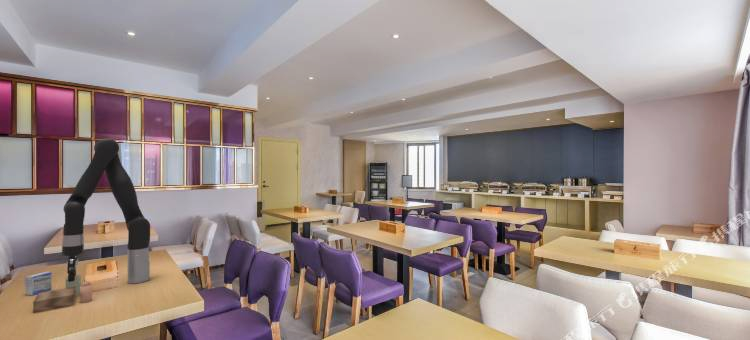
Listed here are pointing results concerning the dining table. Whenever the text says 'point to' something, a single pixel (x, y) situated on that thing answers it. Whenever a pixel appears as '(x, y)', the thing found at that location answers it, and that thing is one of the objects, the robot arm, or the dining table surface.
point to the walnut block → (54, 300)
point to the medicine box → (38, 283)
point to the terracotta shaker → (85, 292)
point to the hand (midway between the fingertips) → (72, 278)
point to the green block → (74, 284)
